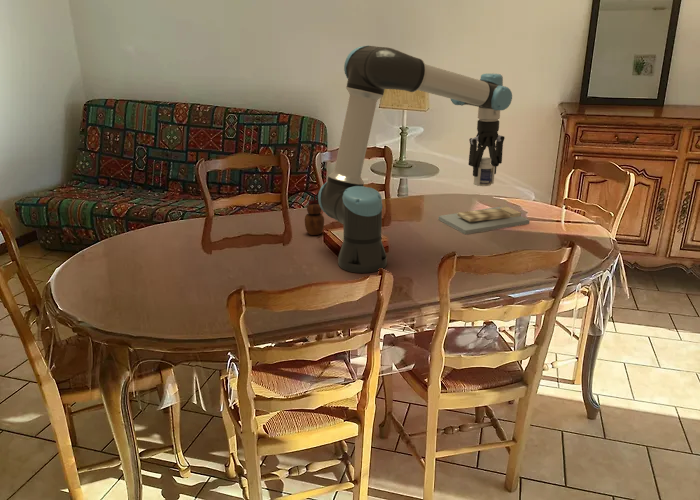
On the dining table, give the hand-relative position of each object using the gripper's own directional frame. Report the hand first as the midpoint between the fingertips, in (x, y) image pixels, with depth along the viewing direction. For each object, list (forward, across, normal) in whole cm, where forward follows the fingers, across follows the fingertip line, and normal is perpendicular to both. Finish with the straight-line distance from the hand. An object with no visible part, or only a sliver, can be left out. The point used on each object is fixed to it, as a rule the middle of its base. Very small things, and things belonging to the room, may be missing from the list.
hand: (483, 183), depth 215 cm
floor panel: (+15, +1, 0) cm, 15 cm away
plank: (+13, +1, 0) cm, 13 cm away
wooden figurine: (+15, -61, +14) cm, 64 cm away
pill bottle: (+1, 0, 0) cm, 1 cm away
